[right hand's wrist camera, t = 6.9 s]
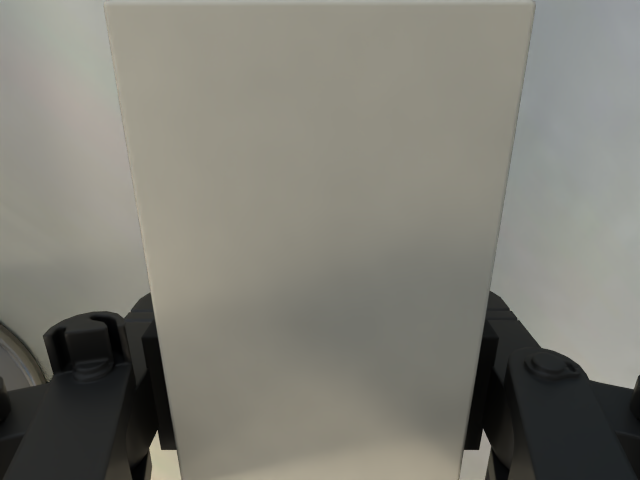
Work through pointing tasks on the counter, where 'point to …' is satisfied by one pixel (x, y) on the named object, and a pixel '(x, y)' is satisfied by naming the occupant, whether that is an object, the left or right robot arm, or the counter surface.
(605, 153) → the counter surface
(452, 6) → the beam
